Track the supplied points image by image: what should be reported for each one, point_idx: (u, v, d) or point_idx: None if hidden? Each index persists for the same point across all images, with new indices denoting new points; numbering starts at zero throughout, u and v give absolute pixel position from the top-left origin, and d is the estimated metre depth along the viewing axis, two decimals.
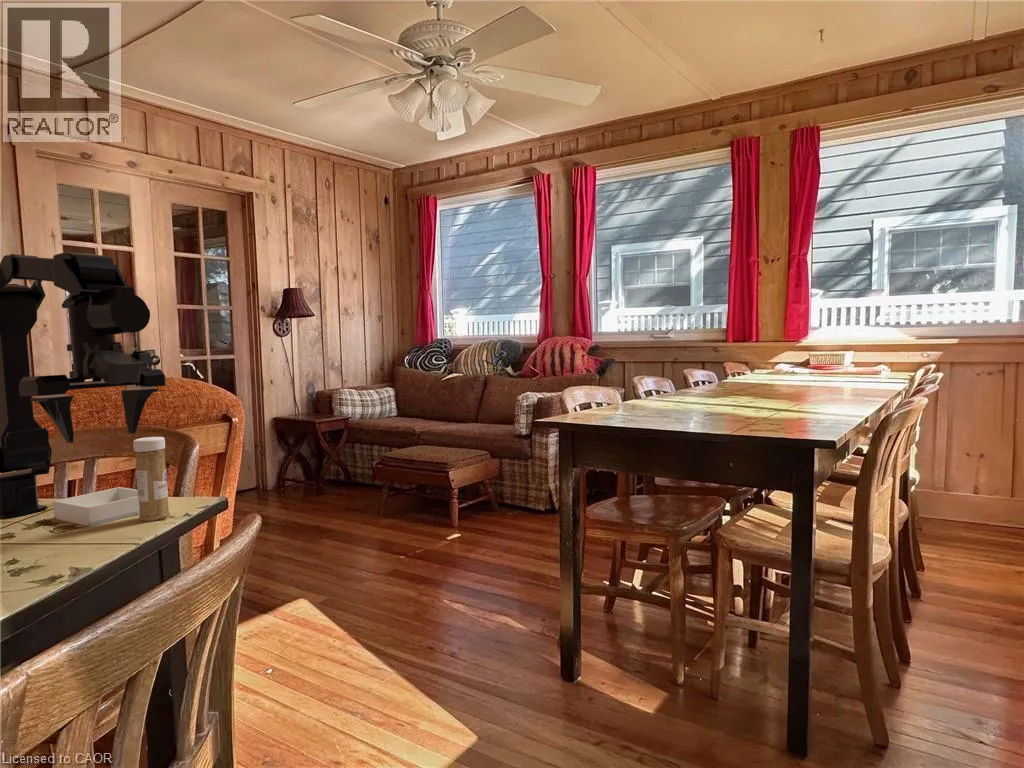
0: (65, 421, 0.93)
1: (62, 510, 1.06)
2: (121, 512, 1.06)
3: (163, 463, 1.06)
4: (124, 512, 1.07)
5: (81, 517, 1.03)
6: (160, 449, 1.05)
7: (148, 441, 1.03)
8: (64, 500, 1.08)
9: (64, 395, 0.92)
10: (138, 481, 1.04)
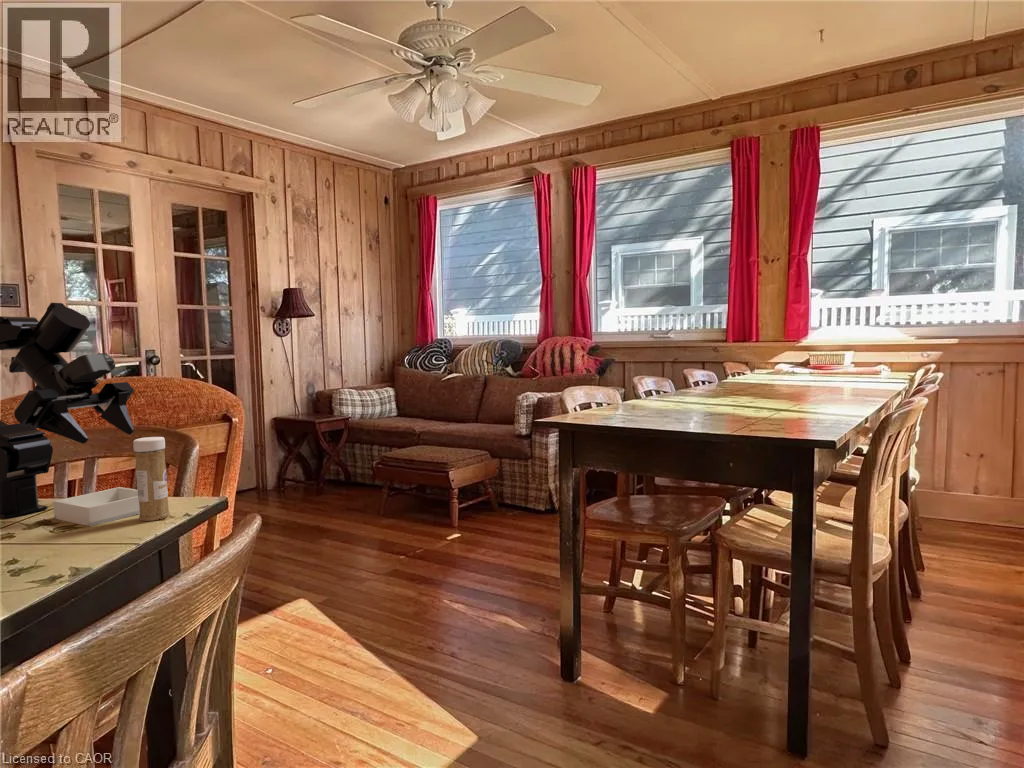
0: (71, 423, 1.02)
1: (62, 510, 1.06)
2: (121, 512, 1.06)
3: (163, 463, 1.06)
4: (124, 512, 1.07)
5: (81, 517, 1.03)
6: (160, 449, 1.05)
7: (148, 441, 1.03)
8: (64, 500, 1.08)
9: None
10: (138, 481, 1.04)
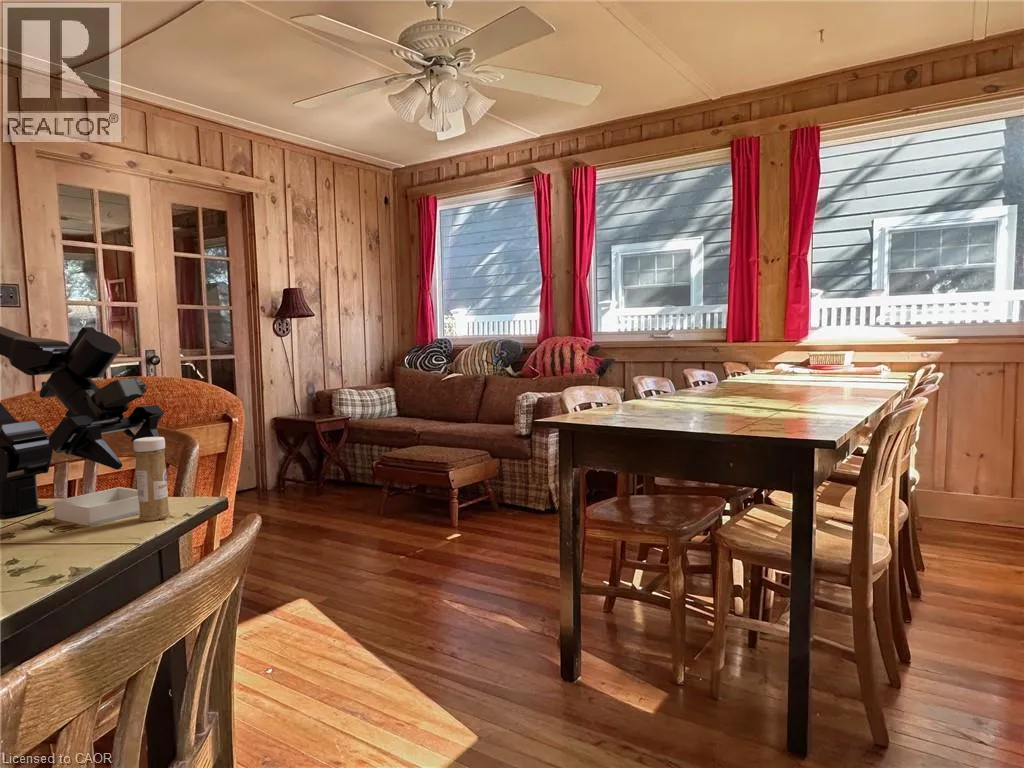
0: (105, 449, 1.01)
1: (62, 510, 1.06)
2: (121, 512, 1.06)
3: (163, 463, 1.06)
4: (124, 512, 1.07)
5: (81, 517, 1.03)
6: (160, 449, 1.05)
7: (148, 441, 1.03)
8: (64, 500, 1.08)
9: None
10: (138, 481, 1.04)
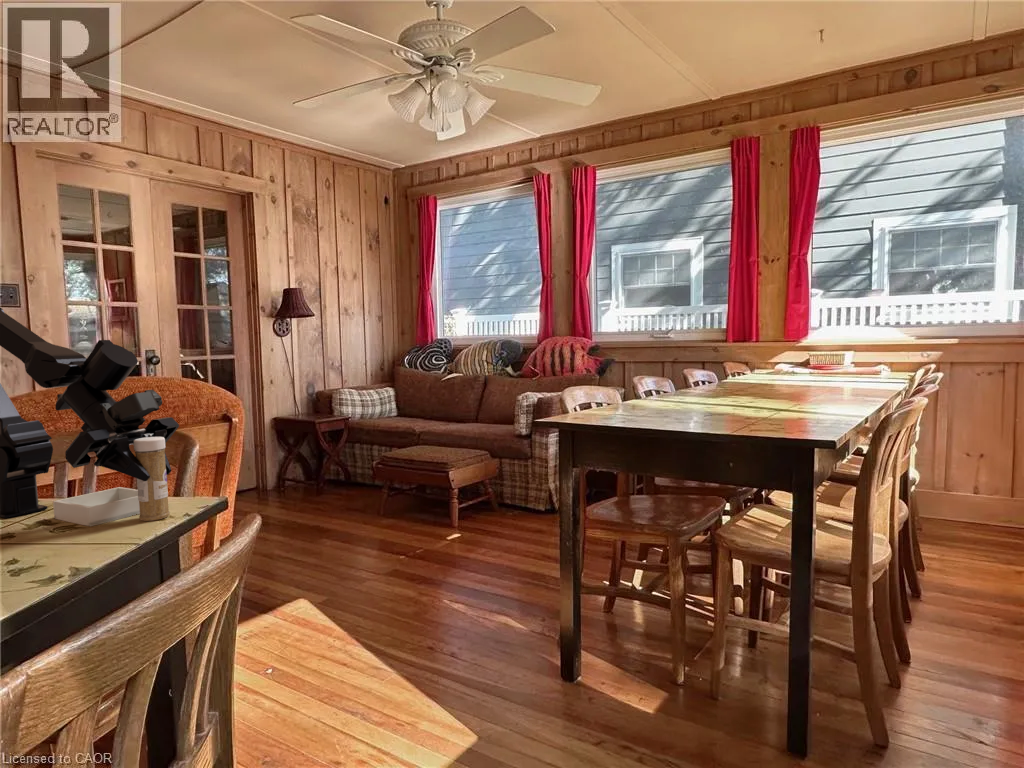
0: (134, 461, 1.02)
1: (62, 510, 1.06)
2: (121, 512, 1.06)
3: (163, 463, 1.06)
4: (124, 512, 1.07)
5: (81, 517, 1.03)
6: (160, 449, 1.05)
7: (148, 441, 1.03)
8: (64, 500, 1.08)
9: None
10: (138, 481, 1.04)
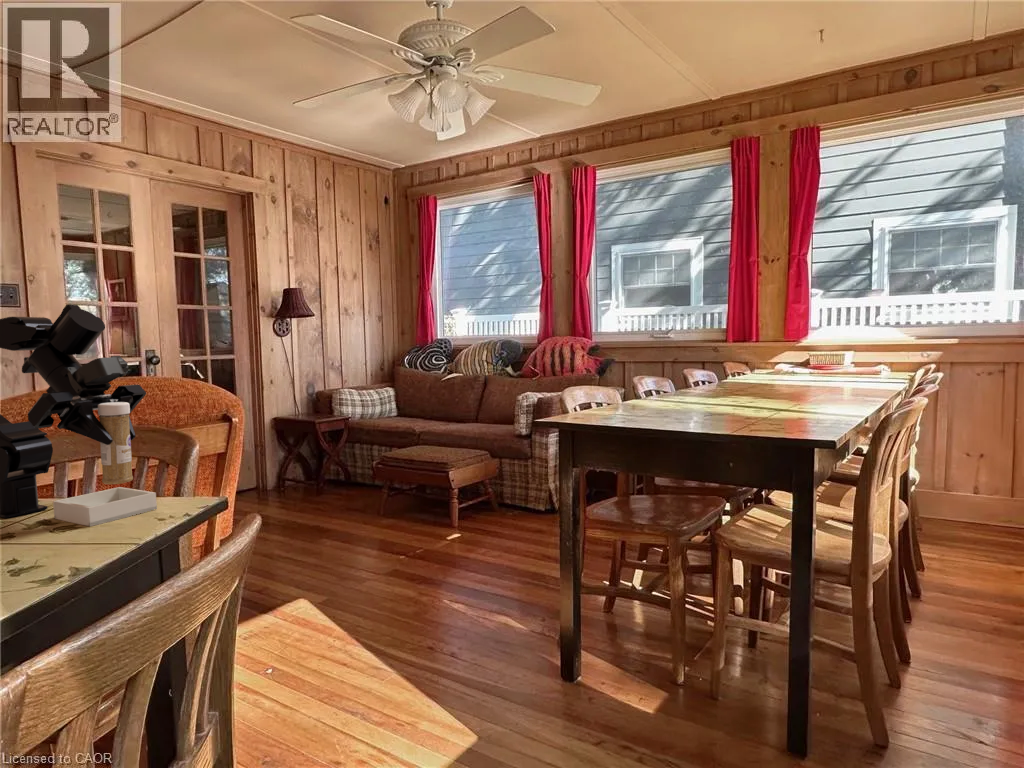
0: (97, 424, 1.04)
1: (62, 510, 1.06)
2: (121, 512, 1.06)
3: (127, 428, 1.07)
4: (124, 512, 1.07)
5: (81, 517, 1.03)
6: (124, 414, 1.06)
7: (112, 405, 1.05)
8: (64, 500, 1.08)
9: None
10: (101, 445, 1.05)
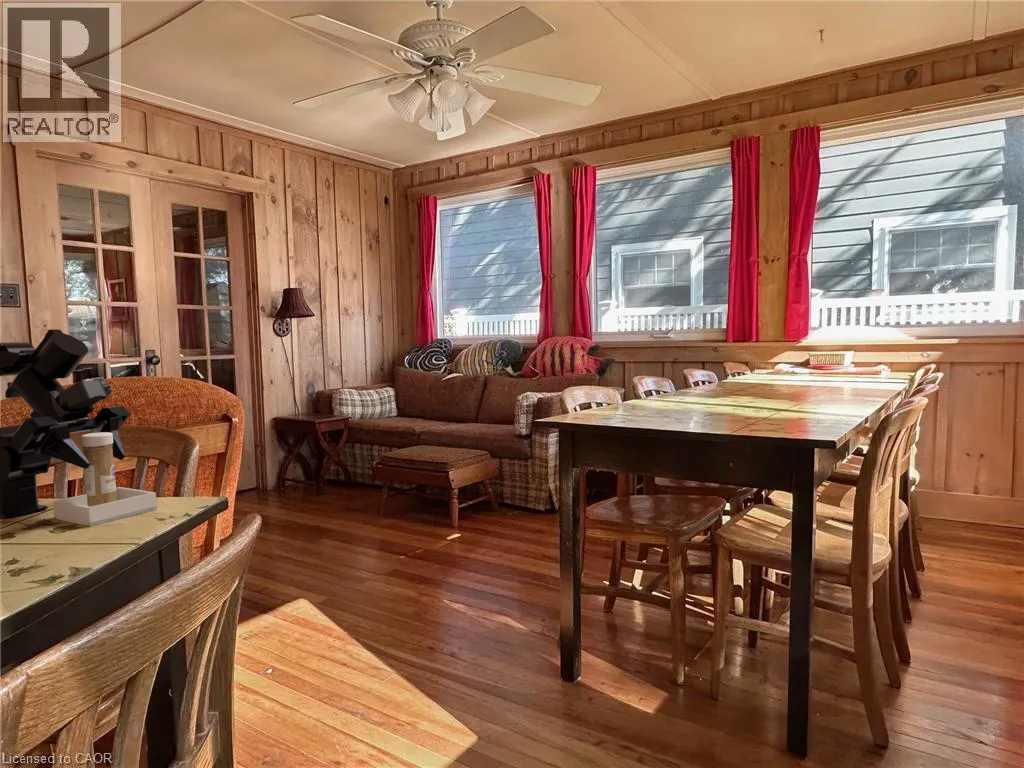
0: (73, 448, 1.04)
1: (62, 510, 1.06)
2: (121, 512, 1.06)
3: (111, 458, 1.08)
4: (124, 512, 1.07)
5: (81, 517, 1.03)
6: (107, 444, 1.07)
7: (95, 436, 1.06)
8: (64, 500, 1.08)
9: None
10: (85, 475, 1.06)
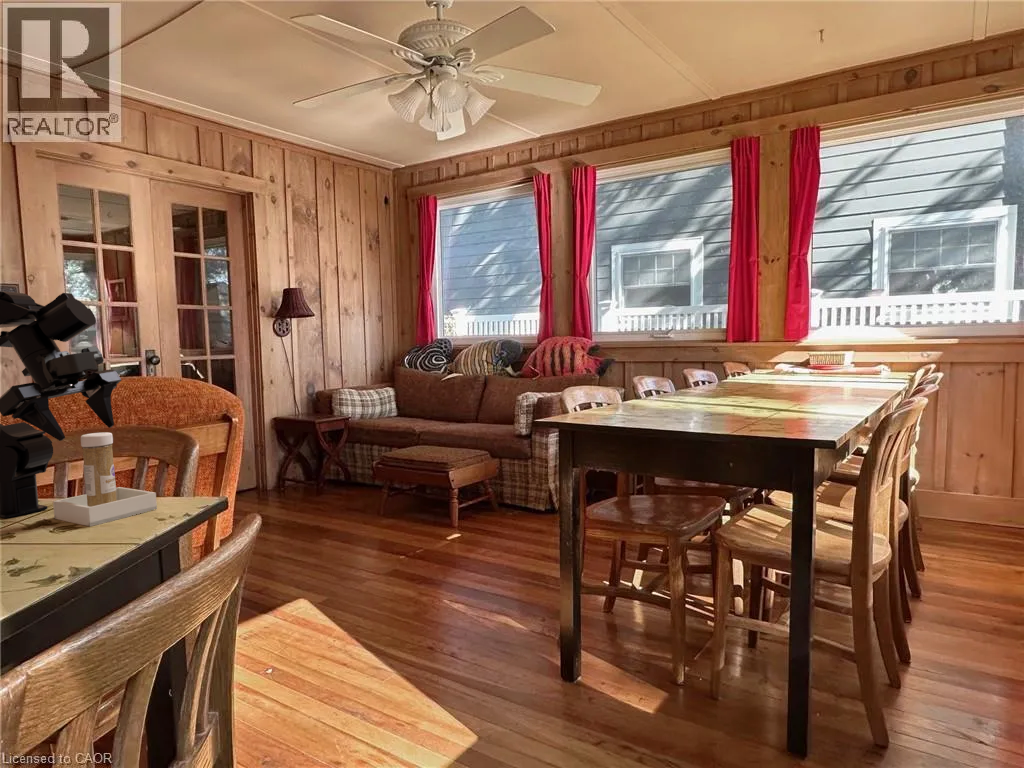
0: (50, 420, 1.05)
1: (62, 510, 1.06)
2: (121, 512, 1.06)
3: (110, 458, 1.08)
4: (124, 512, 1.07)
5: (81, 517, 1.03)
6: (107, 444, 1.07)
7: (95, 436, 1.06)
8: (64, 500, 1.08)
9: None
10: (85, 475, 1.07)
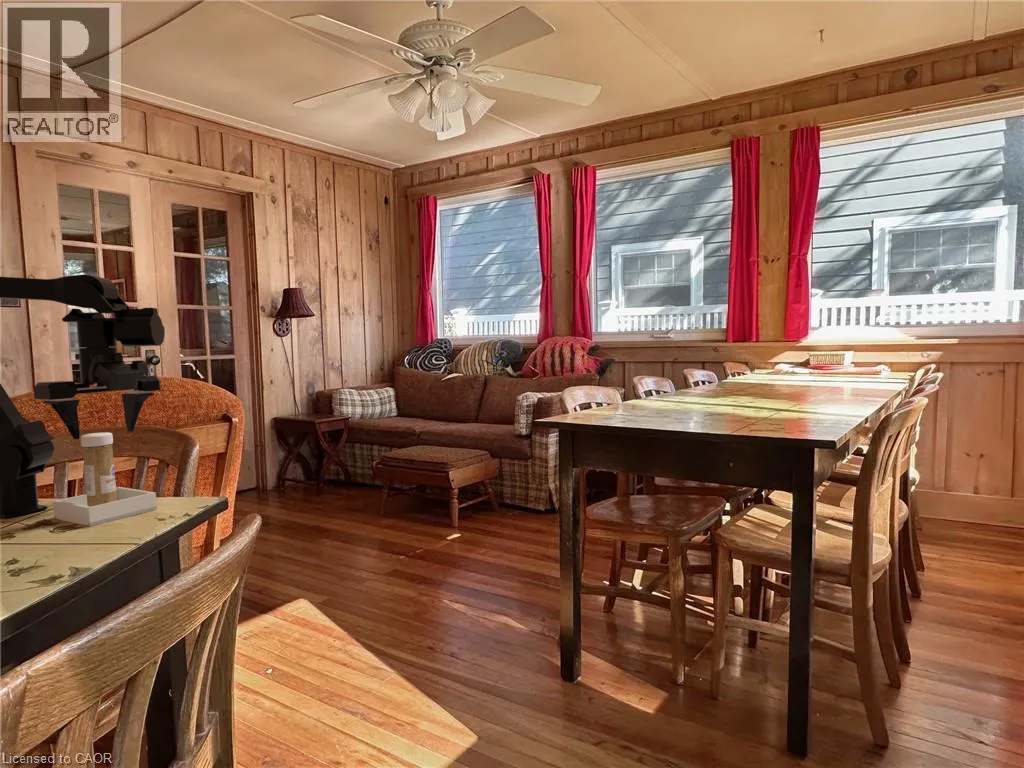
0: (72, 421, 1.08)
1: (62, 510, 1.06)
2: (121, 512, 1.06)
3: (111, 458, 1.08)
4: (124, 512, 1.07)
5: (81, 517, 1.03)
6: (107, 444, 1.07)
7: (95, 436, 1.06)
8: (64, 500, 1.08)
9: (72, 399, 1.07)
10: (85, 475, 1.07)
